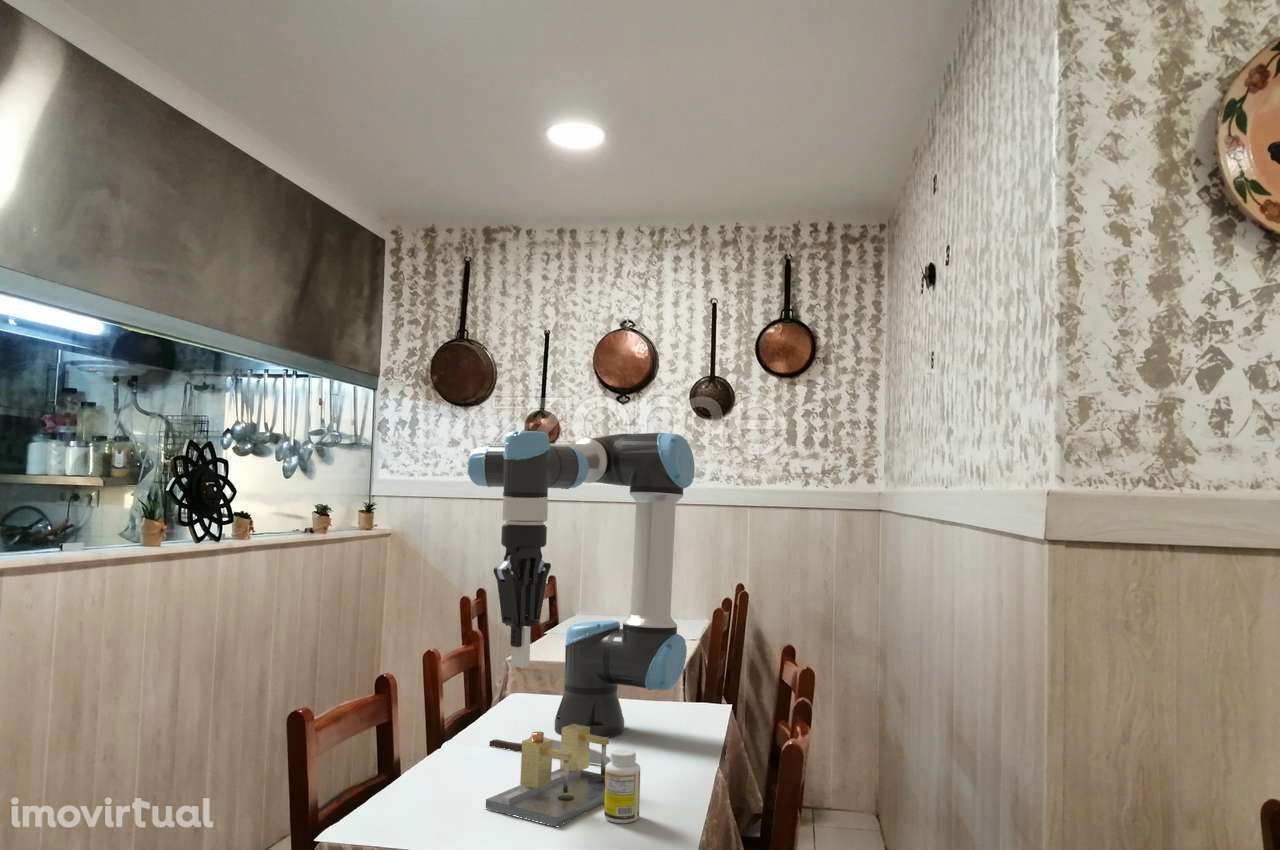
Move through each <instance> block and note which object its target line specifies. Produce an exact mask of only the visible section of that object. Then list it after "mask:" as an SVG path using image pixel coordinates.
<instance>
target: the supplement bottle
mask: <svg viewBox="0 0 1280 850" xmlns="http://www.w3.org/2000/svg"><path fill="white" fill-rule="evenodd" d="M609 757H610V759H611V762H609V763H608V764H607V765H606V768H605V803H604V804H603V807H604V808H603V809H604V811H603V813H604V818H605V819H606V820H607V821H609V822H610V823H611V822H612V823H615V824H629V823H633V822H636V821H637V820H638V819H639V817H640V797H641V796H640V794H641V766H640V764H639V763H637V762H636V760H637V755H636V751H635V750H633V749H630V748H614V749H612V750H611V752H610V756H609Z"/></svg>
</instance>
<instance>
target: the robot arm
mask: <svg viewBox="0 0 1280 850" xmlns="http://www.w3.org/2000/svg"><path fill="white" fill-rule="evenodd" d="M549 436H550V435H549V434H548V433H547V432H543V431H535V430H532V431H531V430H514V431H513V430H512V431H509V432H508V433H507V434H506V435H505V441H504V445H503V446H502V445H486V446H479V447H476V448H474V449H473V450H472V451H471V453H470V455H469V457H468V460H467V474H468V476H469V479H470V481H471V482H472V483H473V484H475V485H476V486H479V487H480V486H481V487H487V488H492V487H493V488H494V487H495V488H498V487H499V488H503V492H502V497H503V498H502V500H503V501H502V521H503V522H505V523H504V524H503V525H502V526H501V541H500V542H501V546H503V547H505V554H504V556H503V563H502V564H501V565H500V566H494V567H493V574H494V576H495V580H496V582H497V583H496V584H497V590H498V598H499V599H498V600H499V605H500V615H501V616H500V617H501V621H502V624H505V626H507V627H510V646H511V649H510V652H511V653H510V666H511V667H517V668H523V669H524V668H527V667H530V658H531V657H530V653H531V642H532V626H533V627H537V625H538V624H539V622H538V621H540V620H541V616H542V611H543V603H544V597H545V590H546V585H547V579H548V576H549V573H550V571H551V568H552V564H551V563H550V562H545V561H544V560H543V554H542V548H545V546H547V538H548V537H547V533H548V531H547V530H548V527H547V526H546V524H544V523H545V522H547V521H548V515H549V514H548V509H549V508H548V507H549V502H548V500H549V498H548V497H549V496H548V495H549V494H548V493H549V492H548V490H549V489H561V490H564V489H565V490H569V489H573V488H574V489H575V488H577V487H579V486H581V485H582V484H583V483H587V484H591V483H598V484H606V485H611V486H612V485H613V486H620V487H622V486H623V487H629V495H630V497H632V499H633V500H634V502H635V518H634V519H635V520H634V534H633V535H634V538H633V556H632V575H631V576H632V577H631V578H632V579H631V597H630V613H629V615H628V616H627V617H626V618H625V619H624V620H623V621H622V628H621V623H620V622H619V621H618V620H595V621H586V622H580V623H576V624H575V623H574V624H572V625H570V626H569V627H568V628H567V631H566V637H565V644H564V647H565V651H564V652H565V653H564V655H565V657H564V681H563V682H564V687H563V695H562V697H561V701H560V704H559V707H558V710H557V711H556V715H555V717H554V731H555V732H556V733H558V734H560V735H561V732H562V728H563V727H566V726H568V725H571V724H577V725H582V726H588V727H590V734H591V735H596V736H602V737H607V738H611V737H612V738H613V737H617V736H619V735H621V734H623V733H624V732H625V718H624V714H623V710H622V707H621V703H620V699H619V696H618V686H626V687H633V688H642V689H645V690H648V691H668V690H669V689H672V688H673V687H674V686H675V685H676V684H678V682H679V679H680V678H681V676H682V674H683V672H684V668H685V664H686V660H687V655H688V653H687V652H688V649H687V644H686V640H685V637H684V636H682V635H681V634H679V633H678V624H677V623H676V622H675V620H674V619H673V618H672V616H671V615H672V613H671V611H672V593H673V592H672V591H673V590H672V589H673V573H674V572H673V568H674V567H673V566H674V548H675V527H676V505H677V503H679V501H681V499H682V498H683V497H684V489H687V488H689V487H690V486H691V485H692V483H693V481H694V480H693V479H694V478H695V469H696V467H695V466H696V465H695V459H694V455H693V452H692V448H691V446H690V444H689V441H688V440H687V439H686V438H685V437H684V436H682V435H680V434H678V433H668V432H656V433H655V432H649V433H647V432H645V433H616V434H611V435H605V436H600V437H593V438H583V439H580V440H578V441H577V442H575V443H561V444H560V443H557V444H550V437H549Z"/></svg>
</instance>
